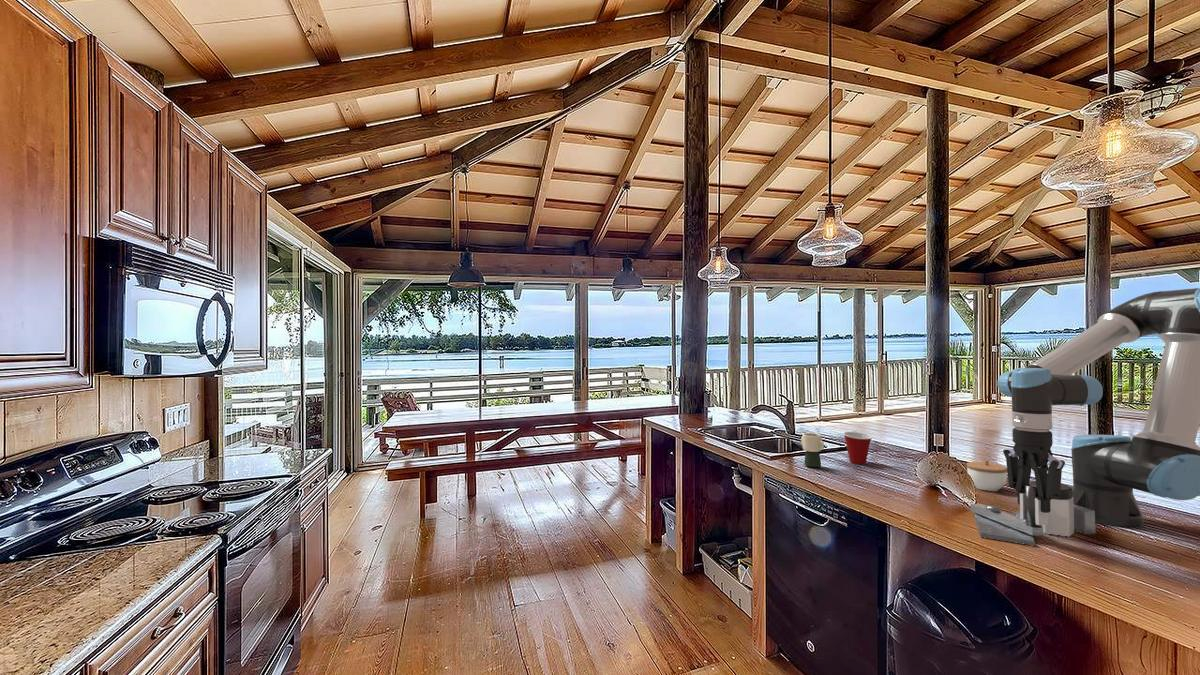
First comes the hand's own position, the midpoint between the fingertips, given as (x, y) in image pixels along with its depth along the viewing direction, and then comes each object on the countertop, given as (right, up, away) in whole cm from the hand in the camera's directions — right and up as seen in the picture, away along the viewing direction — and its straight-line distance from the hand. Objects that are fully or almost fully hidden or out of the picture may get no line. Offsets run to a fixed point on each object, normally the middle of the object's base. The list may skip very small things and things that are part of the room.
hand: (1033, 521), depth 120 cm
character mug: (-24, -6, +72) cm, 76 cm away
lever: (0, -3, +7) cm, 8 cm away
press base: (-2, -5, +8) cm, 9 cm away
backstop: (+16, -4, +6) cm, 18 cm away
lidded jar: (+21, -5, +40) cm, 46 cm away
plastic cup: (-3, -6, +76) cm, 76 cm away
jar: (+10, -5, +5) cm, 12 cm away
